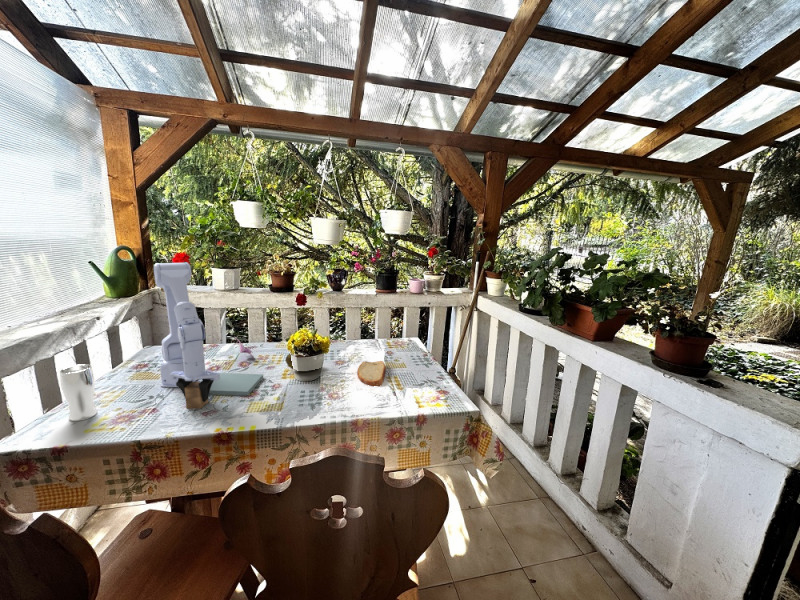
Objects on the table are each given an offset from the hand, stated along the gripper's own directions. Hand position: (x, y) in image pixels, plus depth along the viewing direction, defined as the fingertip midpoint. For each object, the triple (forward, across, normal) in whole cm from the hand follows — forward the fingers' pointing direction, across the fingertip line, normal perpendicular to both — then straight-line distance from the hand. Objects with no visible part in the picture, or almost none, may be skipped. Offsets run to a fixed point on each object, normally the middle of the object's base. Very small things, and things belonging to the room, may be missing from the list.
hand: (197, 400), depth 108 cm
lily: (+2, -2, +39) cm, 39 cm away
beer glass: (+2, -29, -8) cm, 30 cm away
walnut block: (+2, 0, 0) cm, 2 cm away
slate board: (+2, +4, +14) cm, 15 cm away
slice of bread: (+2, +55, +28) cm, 62 cm away
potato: (+2, +26, +29) cm, 39 cm away
